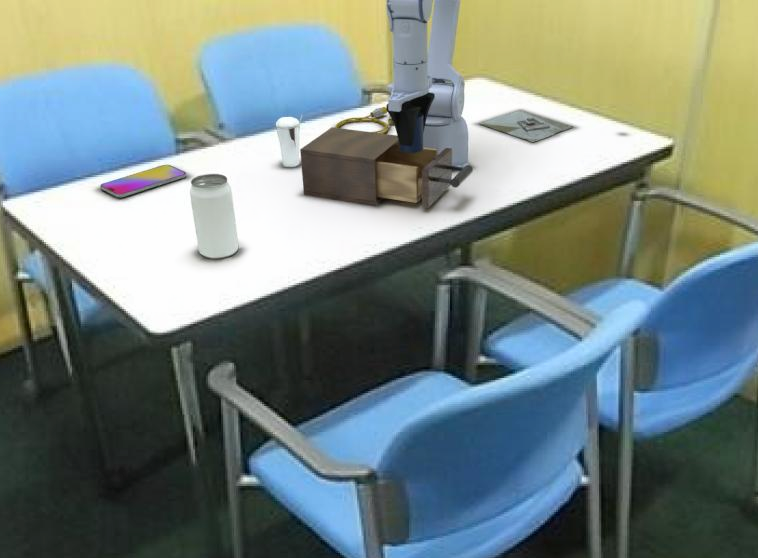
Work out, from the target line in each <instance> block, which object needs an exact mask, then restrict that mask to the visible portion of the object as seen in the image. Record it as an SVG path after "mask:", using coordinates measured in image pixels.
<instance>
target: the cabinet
mask: <svg viewBox="0 0 758 558" xmlns="http://www.w3.org/2000/svg"><path fill="white" fill-rule="evenodd" d="M373 132H374V131H364V130H356V129H348V128H342V127H339V128H335V126H334V127H333V126H331V127H330V128H328V129H327V130H326V131H324V132H322V133H321V134H320V135H319V136H317V137H316V138H314V139H313V140H311V141H310V142H309V143H306V145H304V146H302V147H301V148H299V154H300V163H301V164H300V166H301V175H302V186H303V187H302V188H303V189H302V190H303V195H304V196H311V197H317V198H323V199H329V200H335V201H343V202H349V203H354V204H355V203H356V204H362V205H369V206H375V207H376V206H378V205H379V204H380V203H382V202H383V200H385V198H381V197H378V194H377V165H376V162H377V161H378V160H380V159H381V158H382V157H383V156H384V155H386V154H387V153H388V152H389V151H391V150H392V149H393V148H394V147H395V146H397V145H398V144H399V140H398V136H397V134H396V135H395V134H389V133H384V134H381V132H378V133H373Z"/></svg>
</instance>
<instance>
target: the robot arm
mask: <svg viewBox="0 0 758 558" xmlns="http://www.w3.org/2000/svg"><path fill="white" fill-rule="evenodd" d="M460 6H461V0H386V14H387V18H388V21H389V22H388V24H389V25H388V27H389V31H390V32H391V33H392V61H393V62H392V65H393V66H392V67H393V69H392V70H393V82H391V83H390V84H388V85H387V91H389V92H391V93H390V97H389V98H388V99H387V104H386V105H385V107H386V109H387V113H388V115H389V116H390V117H391V118H392V121H393V123H392V124H393V125H394V129H395V132H396V135H397V136H398V140H399V143H400V145H404V146H411V145H412V144H413V139H414V130H415V123H416V119H417V116H418V113H419V112H421V113H423V147H426V148H434V149H438V154H440V153H441V152H442V151H443V150H444V149H445V148H452V166H457V167H465V166H466V165H470V164H469V128H468V124H467V121H466V120H465V118H464V117H463V116H462V115H463V112H464V108H465V85H466V82H465V79H464V77H463V76H462V74H461V73H460V72H459V71H458V70H457V69H456V68H454V66H453V61H454V54H455V53H454V52H455V46H456V37H457V30H458V22H459V15H460V8H461V7H460ZM430 18H431V25H430V34H428V22H429V20H430ZM428 35H429V36H428ZM428 37H429V41H428Z"/></svg>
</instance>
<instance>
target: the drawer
mask: <svg viewBox="0 0 758 558" xmlns="http://www.w3.org/2000/svg"><path fill="white" fill-rule="evenodd" d="M376 165H377V194H378V197H381V198H384V199H388V200H396V201H402V202H409V203H414V204H415V203H416V204H417V203H418V202H419V201H421V207H422V208H428V209H429V208H430V207H431V206H432V205H433V204H434V203H435V202H436V201H437V200H438V199H439V198H440V197H441V196H442V195H443V194H444V193H445V192H446V191H447V189H449V188H450V186H451V187H452V188H459V187H460V185H461V184H463V182H464V181H466V179H467V178H468V177H470V175H471V174H472V173H473V171H474V168H473V166H472V165H470V164H469V165H466V166H465V167H457V166H452V148H445V149H444V150H443V151H442V152H441V153H440V154H438V149H434V148H426V147H423V150H422V151H420V152H416V153H406V152H402V151H400V149H399V144H398V145H397V146H395V147H394V148H393V149H392V150H391V151H389V152H388V153H387V154H386V155H384V156H383V157H382V158H381V159H380V160H378V161H377V162H376ZM453 171H455V172H457V174H456V175H455V176H454V177H452V174H453V173H452V172H453Z"/></svg>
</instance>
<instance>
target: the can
mask: <svg viewBox="0 0 758 558" xmlns="http://www.w3.org/2000/svg"><path fill="white" fill-rule="evenodd" d="M190 184H191V186H190V189H189V198H190V205H191V210H192V217H193V223H194V230H195V235H196V242H197V248H198V253H199V254H201V256H203V257H204V258H207V259H212V260H218V259H225V258H228V257H231V256H233V255H235V254H236V253H237V251H238V250H239V238H238V237H239V236H238V229H237V221H236V214H235V207H234V200H233V199H234V198H233V192H232V187H231V185H230V183H229V181H228V177H227V176H225V175H223V174H220V173H205V174H204V173H203V174H200V175H197V176H195V177H193V178H192V179H191V180H190Z"/></svg>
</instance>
